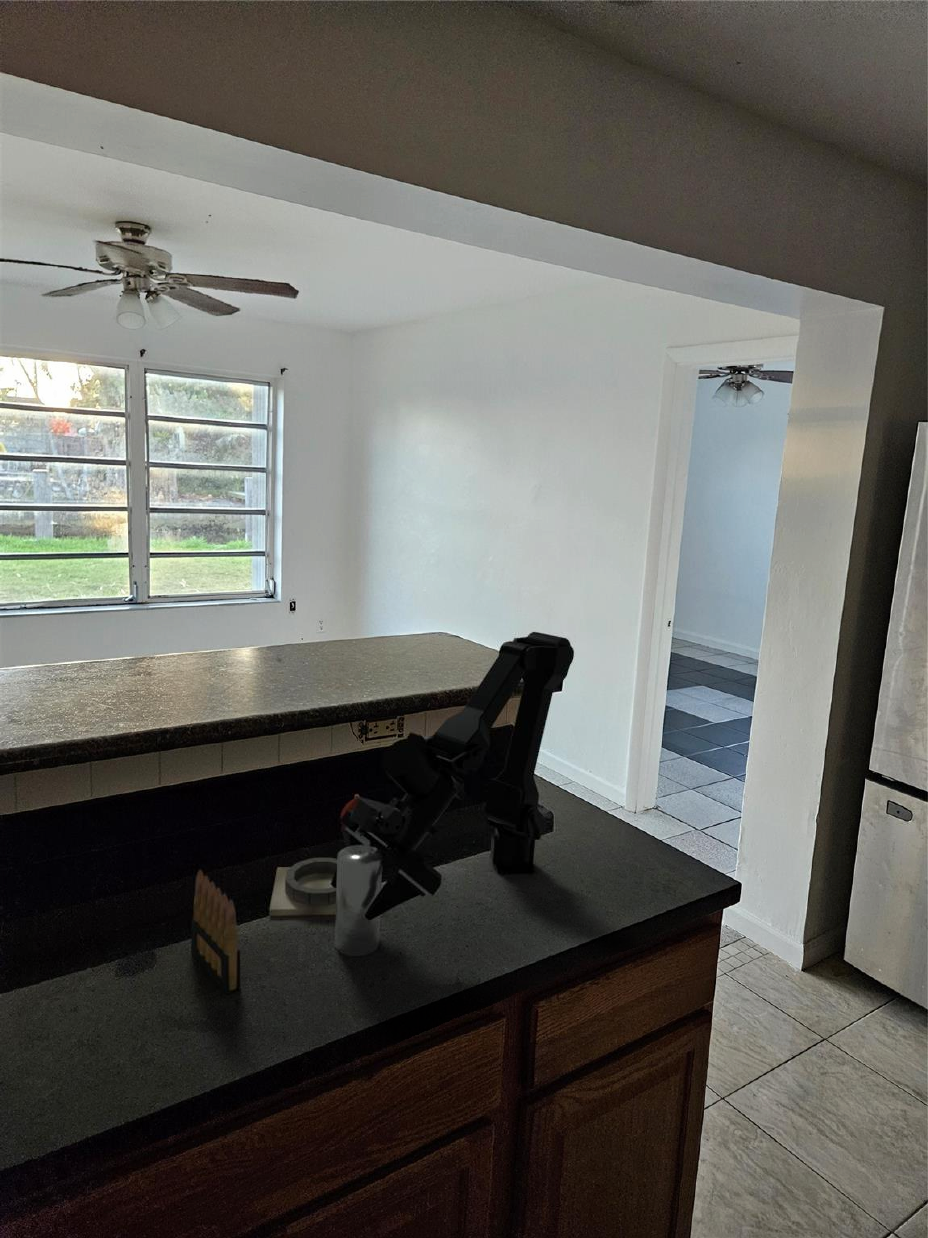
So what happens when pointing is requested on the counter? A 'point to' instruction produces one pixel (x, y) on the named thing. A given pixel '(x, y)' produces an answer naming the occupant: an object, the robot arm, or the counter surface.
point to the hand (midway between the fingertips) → (349, 902)
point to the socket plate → (296, 908)
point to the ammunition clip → (215, 934)
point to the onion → (349, 807)
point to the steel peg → (357, 899)
